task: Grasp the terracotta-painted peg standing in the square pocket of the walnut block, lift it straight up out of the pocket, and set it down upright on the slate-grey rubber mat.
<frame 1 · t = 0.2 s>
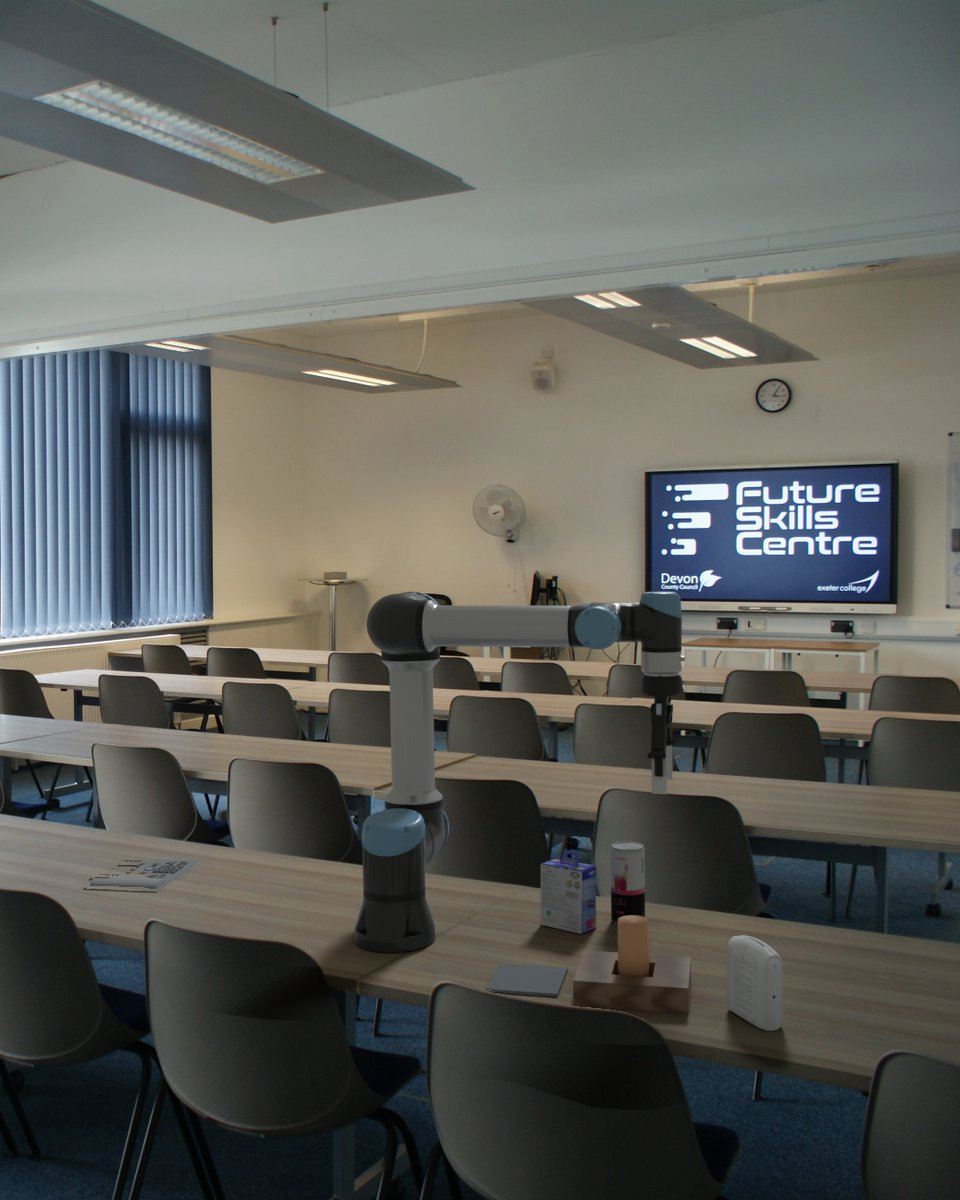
hand: (662, 786, 213), 28 cm above the table, fingers open, 13 cm apart
mat: (527, 980, 190), on the table
office telephone: (139, 879, 257), on the table
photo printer: (754, 1020, 174), on the table
peg: (633, 956, 184), in the pocket block
pocket block: (633, 992, 185), on the table
beverage can: (628, 922, 221), on the table
ink cartridge box: (568, 927, 218), on the table
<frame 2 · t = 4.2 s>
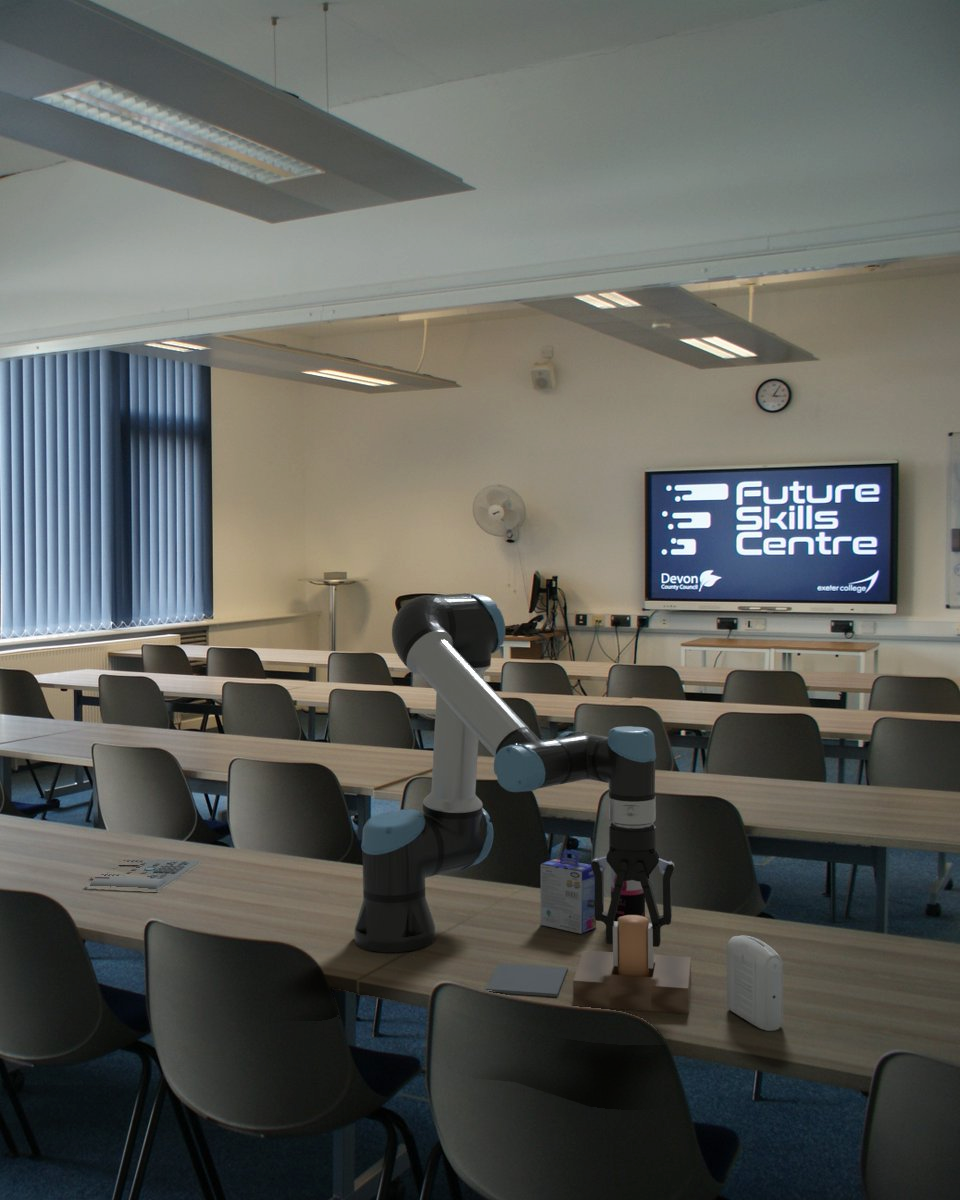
hand: (633, 964, 185), 5 cm above the table, fingers closed on peg, 5 cm apart
peg: (633, 956, 184), in the pocket block, touching gripper
everything else where it was.
when the fingers open (7 cm above the table, at t = 12.7 s): peg drops 2 cm, resting on mat.
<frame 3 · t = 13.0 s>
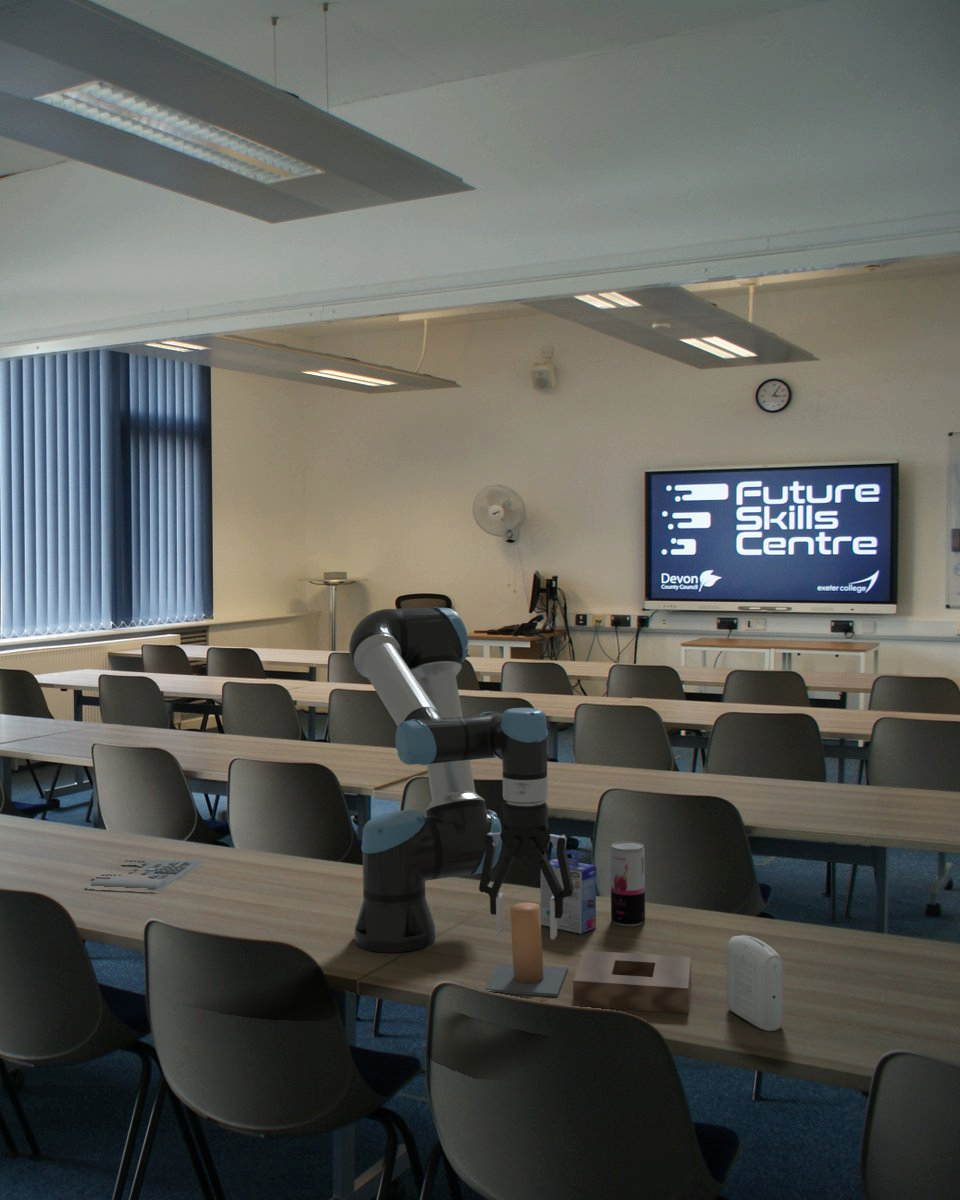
hand: (526, 934, 190), 8 cm above the table, fingers open, 8 cm apart
peg: (526, 942, 190), on the mat
everything else where it was.
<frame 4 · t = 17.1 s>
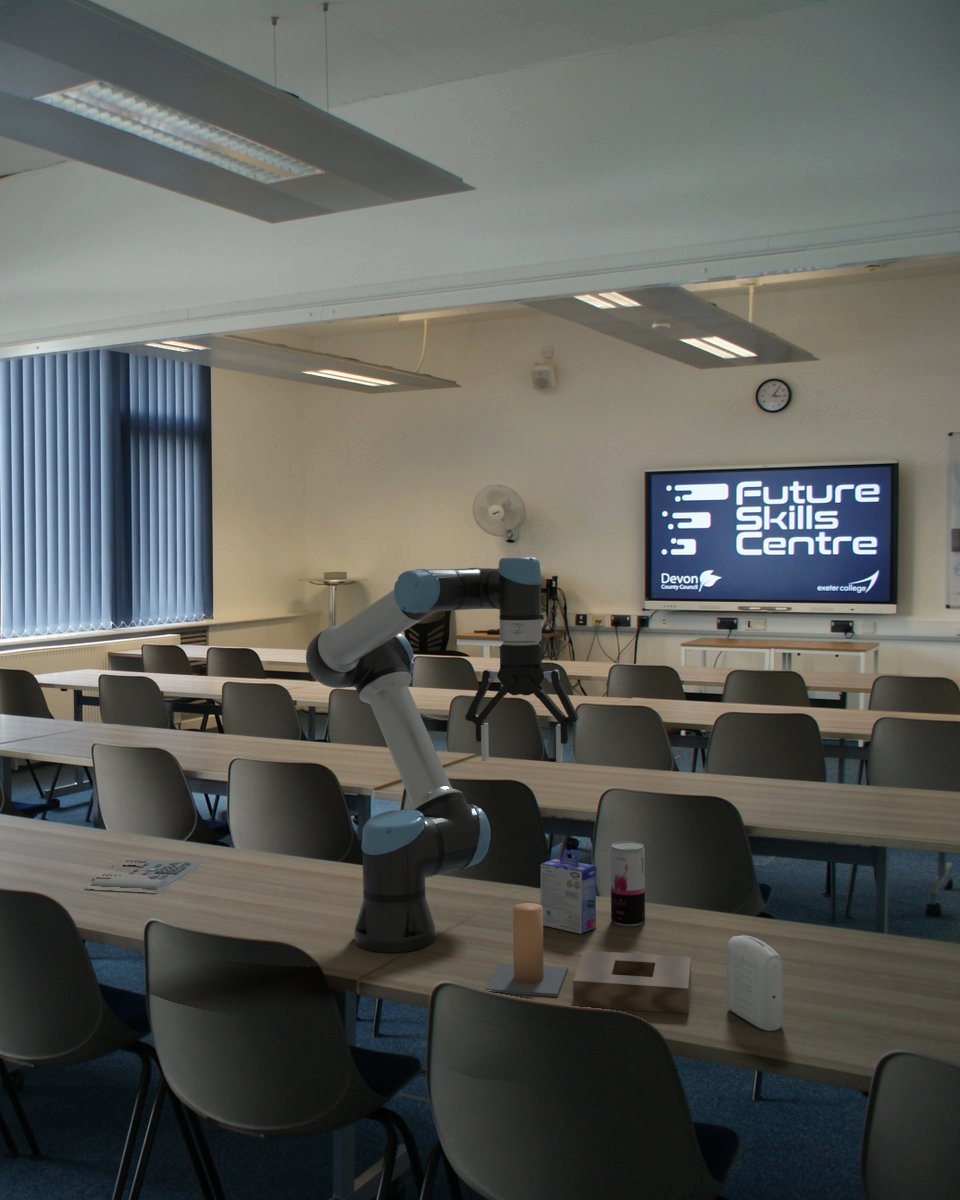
hand: (522, 760, 204), 35 cm above the table, fingers open, 13 cm apart
at the end: peg 0.2 cm off-centre on the mat, point 6.5 cm above the mat's base; peg tilted 0°; the gripper is holding nothing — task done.
